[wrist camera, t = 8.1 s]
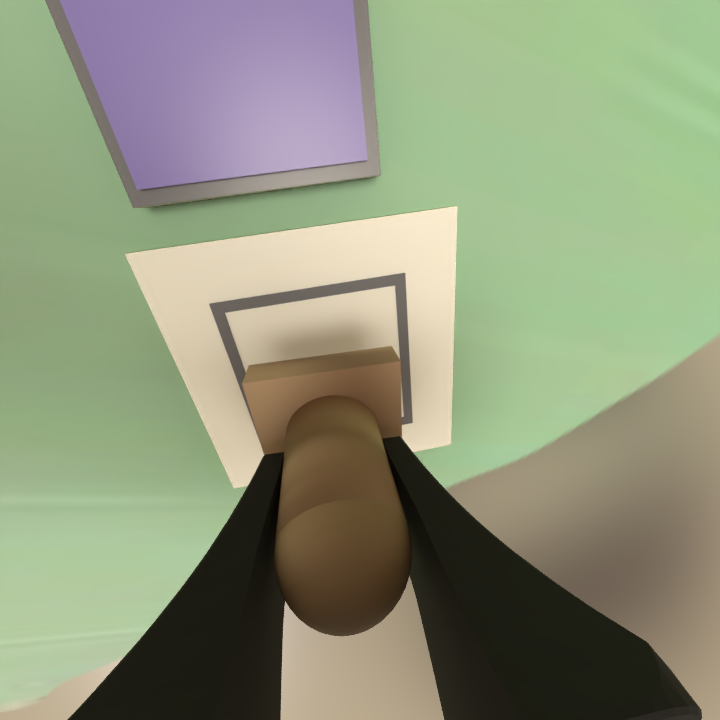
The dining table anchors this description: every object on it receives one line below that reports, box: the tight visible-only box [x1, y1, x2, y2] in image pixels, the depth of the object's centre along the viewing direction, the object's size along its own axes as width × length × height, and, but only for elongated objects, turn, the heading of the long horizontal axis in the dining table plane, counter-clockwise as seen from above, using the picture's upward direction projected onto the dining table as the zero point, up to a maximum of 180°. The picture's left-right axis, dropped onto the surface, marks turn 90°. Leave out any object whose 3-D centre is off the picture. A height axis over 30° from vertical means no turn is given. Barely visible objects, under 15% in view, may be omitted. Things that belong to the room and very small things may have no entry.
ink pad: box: [45, 0, 381, 208], centre depth 10 cm, size 9×7×2 cm
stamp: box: [242, 346, 412, 636], centre depth 9 cm, size 5×5×7 cm
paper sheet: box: [125, 206, 457, 488], centre depth 16 cm, size 14×14×1 cm
